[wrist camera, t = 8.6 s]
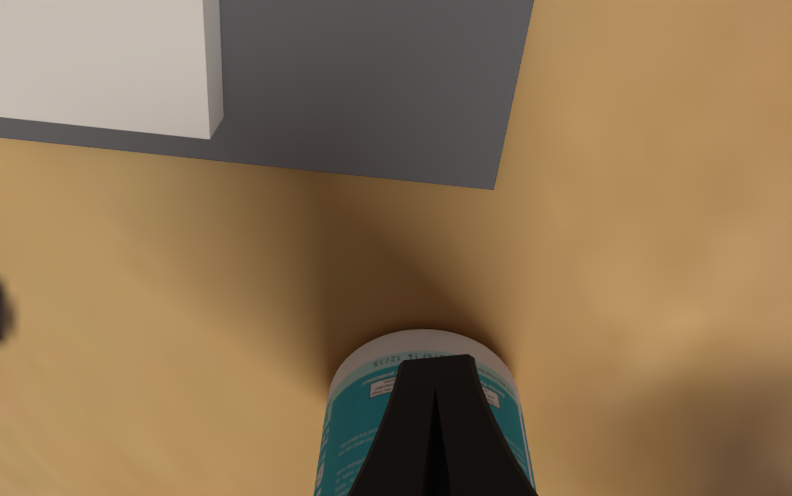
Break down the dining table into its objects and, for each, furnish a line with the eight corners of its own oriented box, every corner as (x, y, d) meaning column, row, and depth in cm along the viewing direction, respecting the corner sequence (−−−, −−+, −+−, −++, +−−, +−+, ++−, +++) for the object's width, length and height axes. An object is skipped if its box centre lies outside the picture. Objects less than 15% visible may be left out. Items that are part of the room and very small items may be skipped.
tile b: (197, -104, 15) (-119, -142, 15) (209, 139, 18) (-49, 111, 18) (215, -112, 17) (-74, -146, 16) (224, 116, 20) (-16, 89, 20)
